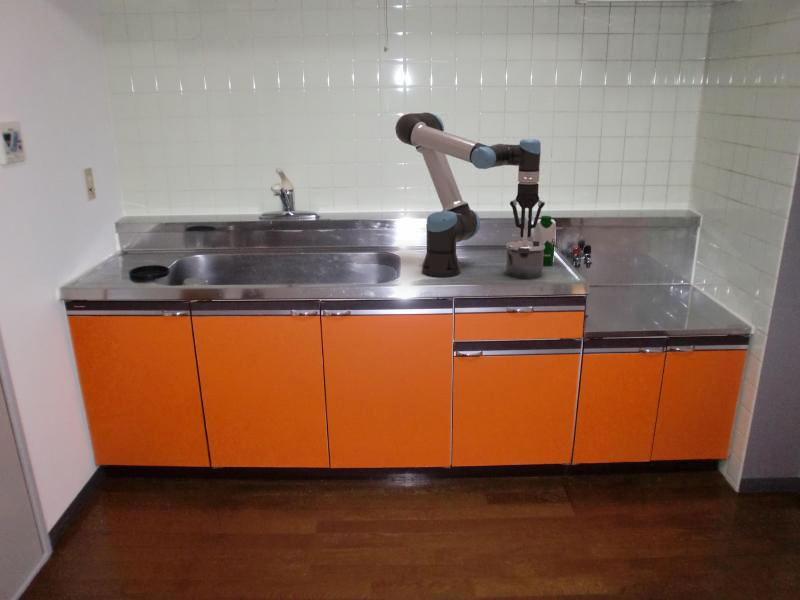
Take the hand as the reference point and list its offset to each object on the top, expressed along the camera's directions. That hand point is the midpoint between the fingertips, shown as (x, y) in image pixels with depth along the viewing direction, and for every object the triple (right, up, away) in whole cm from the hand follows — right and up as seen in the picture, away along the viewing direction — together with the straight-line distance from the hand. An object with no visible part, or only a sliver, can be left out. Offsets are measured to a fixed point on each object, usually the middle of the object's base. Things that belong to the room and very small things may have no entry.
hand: (525, 245), depth 233 cm
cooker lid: (+1, -1, +4) cm, 4 cm away
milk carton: (+12, -5, +24) cm, 27 cm away
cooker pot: (+1, -10, +8) cm, 13 cm away
